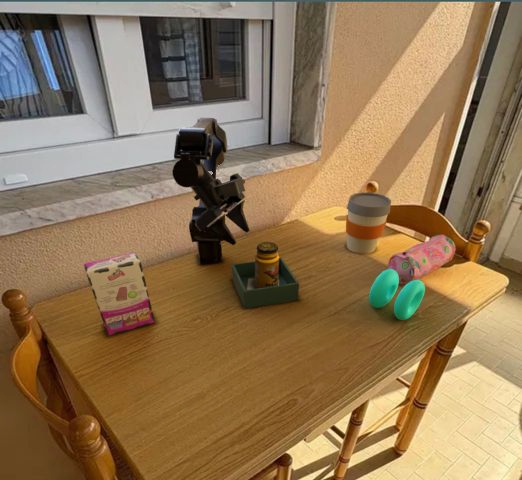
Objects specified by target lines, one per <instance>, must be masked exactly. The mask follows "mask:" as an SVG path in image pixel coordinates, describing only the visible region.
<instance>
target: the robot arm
mask: <svg viewBox="0 0 522 480" xmlns="http://www.w3.org/2000/svg"><path fill="white" fill-rule="evenodd" d="M227 153H228V139H227V134H226V131H225V130H224V129H223V128H222V127H221V126H220V125H219V124H218V120H217V119H216V118H214V117H200V118H197V122H196V123H195V124H193V125H192V127H180V128H179V129H178V132H177V133H176V137H175V143H174V152H173V159H174V160H177V161H176V162H174V165H173V167H172V178H173V180H174V182H175V183H176V184H177V185H178V186H179V187H182V188H190V189H191V190H192V191H193V193H194V194H195V195H194V196H193V198H194V200H195V201H198V206H193V208H192V211H191V219H190V220H189V223H188V230H189V235H190V241H191V243H196V248H197V253H196V256H197V259H198V262H199V265H209V264H217V263H222V262H223V260H222V257H223V249H222V248H223V247H222V242H223V241H225V242H226V243H228V244H230V245H232V246H234V245H236V244H237V241H236V239H235V237H234V235H233V234H232V232H231V229H229V227H228V225H227V224H226V217H227V219H229V220H230V221H231V222H232V223H233V224H235V225H236V226H237V227H238V228H240V230H242V232H244V233H245V234H247V233H249V232H250V227H249V224H248V221H247V219H246V215H245V213H244V206H245V205H244V204H245V202H246V201H245V198H246V195H245V194H244V192H246V188H245V185H244V184H245V183H246V180H245V179H243V176H241V175H240V174H239V173H238V172H236V173H233V174H231V175H230V176H229V180H227V181H225V182H222V181H221V180H220V178H219V179H218V178H217V179H216V169H217V167H218V165H220V164H221V165H222V164H223V163H224V162H225V159H226V154H227ZM221 165H220V166H221ZM218 168H219V167H218ZM208 171H212V172H213V174H212V175H211V174H210V173H209V172H208ZM222 214H223V215H222Z"/></svg>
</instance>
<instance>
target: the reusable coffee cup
mask: <svg viewBox="0 0 522 480" xmlns="http://www.w3.org/2000/svg"><path fill="white" fill-rule="evenodd" d="M346 205H347V206H346V209H347V214H346V216H345V217H346V219H345V232H346V248H347V249H348V250H349V251H351V252H353V253H355V254H360V255H361V254H362V255H364V254H371V253H373V252H375V251H376V248H377V245H378V243H379V240H380V238H381V237H382V236H383V233H384V231H385V228H386V225H387V222H388V220H387V218H388V215H389V214H390V213H391V205H392V200H391V198H389V197H388V196H386V195H384V194H380V193H376V192H357V193H353V194H351V195H350V196H349V197H348V201H347V204H346Z"/></svg>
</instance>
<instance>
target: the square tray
mask: <svg viewBox="0 0 522 480" xmlns="http://www.w3.org/2000/svg"><path fill="white" fill-rule="evenodd" d="M230 265H231V280H232V281H231V282H232V283H233V285H234V287H235V290H236V292H237V294H238V296H239V298H240V299H239V300H240V301H241V303H242V305H243V308H244V309H251V308H257V307H264V306H269V305H276V304H281V303H289V302H295V301H298V300H299V291H300V283H299V281H298V279H297V278H296V277H295V275H294V273H293V272H292V270H291V269H290V268H289V266H288V264H287V263H286V262H285V261H284V259H283V257H279V271H278V280H279V285H277V286H271V287H264V288H257V289H250V290H247V286H248V279H255V260H252V261H244V262H237V263H231V264H230Z"/></svg>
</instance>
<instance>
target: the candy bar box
mask: <svg viewBox="0 0 522 480" xmlns="http://www.w3.org/2000/svg"><path fill="white" fill-rule="evenodd" d="M83 268H84V271H85V274H86V277H87V280H88V284H89V286H90V288H91V292H92V295H93V296H94V300H95V303H96V306H97V309H98V312H99V314H100V318H101V320H102V323H103V326H104V329H105V332H106V335H107V336H113V335H117V334H120V333H124V332H127V331H130V330H133V329H137V328H140V327H144V326H148V325H151V324H154V323H156V320H155V316H154V312H153V307H152V303H151V298H150V296H149V290H148V286H147V283H146V277H145V276H144V269H143V265H142V262H141V259H140V258H139V257H138V255H137V252H129V253H125V254H122V255H116V256H112V257H107V258H103V259H98V260H94V261H90V262H85V263H83Z"/></svg>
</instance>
